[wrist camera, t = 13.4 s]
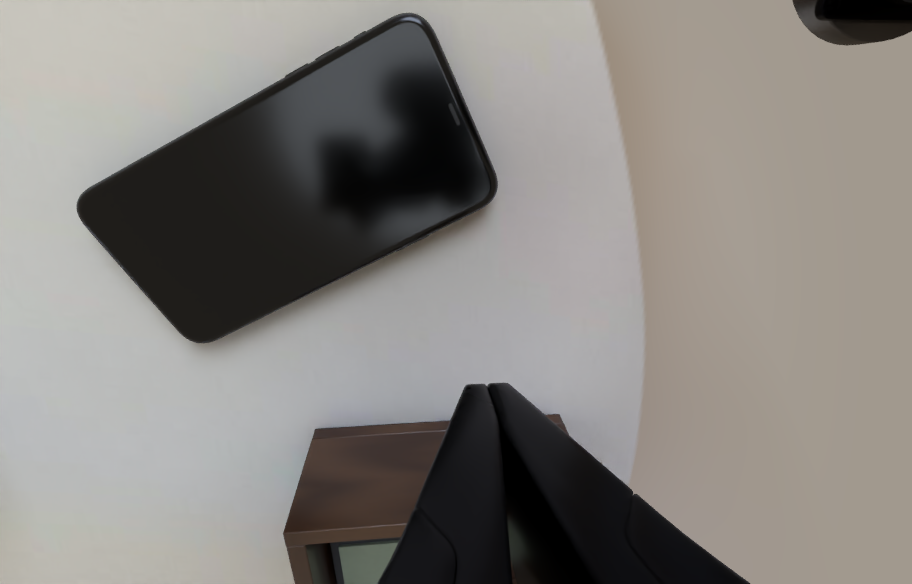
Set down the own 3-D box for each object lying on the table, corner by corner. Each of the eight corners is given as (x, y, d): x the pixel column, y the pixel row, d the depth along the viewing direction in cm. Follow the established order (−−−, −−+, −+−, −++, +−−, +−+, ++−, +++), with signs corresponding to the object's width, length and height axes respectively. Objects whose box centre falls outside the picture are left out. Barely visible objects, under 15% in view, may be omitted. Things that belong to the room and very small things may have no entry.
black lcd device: (487, 475, 25) (497, 524, 22) (485, 541, 27) (494, 593, 24) (337, 486, 24) (327, 538, 21) (348, 553, 26) (339, 607, 24)
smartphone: (202, 344, 21) (503, 194, 19) (193, 354, 20) (507, 198, 18) (74, 197, 18) (420, 2, 16) (58, 202, 17) (421, -3, 15)
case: (342, 589, 29) (324, 709, 23) (314, 428, 24) (282, 533, 18) (541, 571, 30) (571, 682, 24) (559, 413, 25) (603, 508, 19)
